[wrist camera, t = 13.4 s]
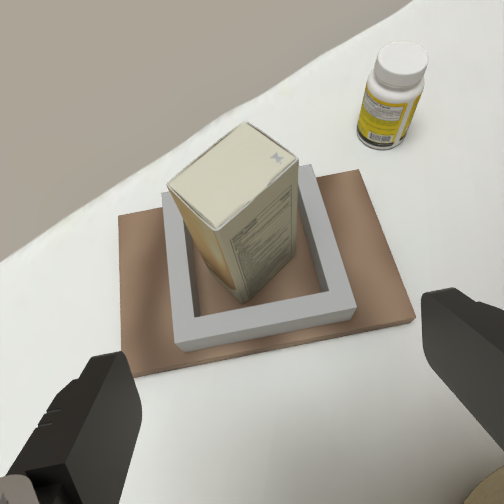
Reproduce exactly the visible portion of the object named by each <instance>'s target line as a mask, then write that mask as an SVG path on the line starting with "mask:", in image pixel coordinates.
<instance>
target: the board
mask: <svg viewBox="0 0 504 504" xmlns="http://www.w3.org/2000/svg"><path fill="white" fill-rule="evenodd" d="M316 180H317V183H318V187H319V190H320V193H321V196H322V199H323V202H324V205H325V208H326V212H327V215H328V218H329V221H330V224H331V227H332V230H333V234H334V237H335V240H336V243H337V246H338V249H339V252H340V255H341V259H342V262H343V265H344V268H345V271H346V274H347V277H348V280H349V284H350V287H351V290H352V293H353V296H354V299H355V302H356V306H357V308H356V310H355V312H354V314H353V316H352V318H351V319H350V320H348V321H342V322H337V323H332V324H327V325H322V326H317V327H312V328H307V329H302V330H297V331H292V332H287V333H282V334H277V335H272V336H267V337H262V338H257V339H252V340H247V341H242V342H237V343H232V344H226V345H221V346H216V347H211V348H206V349H201V350H196V351H191V352H186V353H185V352H184V351H182V350H181V349H180V348H179V347H178V346H177V345H176V344H175V342H174V331H173V319H172V308H171V296H170V285H169V274H168V262H167V251H166V239H165V228H164V216H163V207H161V208H156V209H151V210H146V211H140V212H135V213H130V214H125V215H120V216H118V227H119V270H120V313H121V351H122V352H123V353H124V354H125V356H126V358H127V360H128V364H129V367H130V370H131V373H132V376H133V378H135V377H140V376H145V375H150V374H155V373H160V372H165V371H170V370H175V369H180V368H186V367H191V366H196V365H201V364H206V363H211V362H216V361H221V360H226V359H231V358H236V357H241V356H246V355H251V354H256V353H261V352H266V351H271V350H276V349H281V348H286V347H291V346H296V345H301V344H306V343H311V342H316V341H321V340H326V339H331V338H336V337H341V336H347V335H352V334H357V333H362V332H367V331H372V330H377V329H382V328H387V327H392V326H397V325H402V324H407V323H411V322H412V321H413V320H414V319H415V318H416V315H415V313H414V310H413V308H412V305H411V303H410V300H409V297H408V295H407V292H406V290H405V287H404V285H403V282H402V279H401V277H400V274H399V272H398V269H397V266H396V264H395V261H394V259H393V256H392V254H391V251H390V248H389V246H388V243H387V241H386V238H385V236H384V233H383V230H382V228H381V225H380V223H379V220H378V218H377V215H376V212H375V210H374V207H373V205H372V202H371V200H370V197H369V194H368V192H367V189H366V187H365V184H364V182H363V179H362V176H361V174H360V171H359V169H358V170H353V171H347V172H342V173H337V174H332V175H327V176H322V177H316ZM191 240H192V248H193V256H194V264H195V272H196V280H197V288H198V297H199V305H200V313H201V316H206V315H211V314H216V313H221V312H226V311H231V310H236V309H241V308H246V307H251V306H256V305H261V304H267V303H272V302H277V301H282V300H287V299H292V298H297V297H302V296H307V295H312V294H317V293H322V292H321V288H320V285H319V281H318V278H317V274H316V271H315V267H314V263H313V260H312V256H311V253H310V249H309V246H308V242H307V238H306V235H305V231H304V228H303V224H302V221H301V217H300V213H299V210H298V206H297V230H296V254H295V255H294V256H293V257H292V258H291V259H290V260H289V261H288V262H287V263H286V265H285V266H284V267H283V268H282V269H281V270H280V271H279V272H278V273H277V274H276V275H275V276H274V277H273V278H272V279H270V280H269V281H268V282H267V283H266V284H265V285H264V286H263V287H262V288H261V289H260V290H259V291H258V292H257V293H256V294H255V295H254V296H253V297H251V298H250V299H249V300H248V301H247V302H246V303H244V304H242V303H240V302H239V301H238V300H237V299H236V298H235V297H234V296H233V295H232V294H231V293H230V292H229V291H228V290H227V289H226V288H225V287H224V286H223V285H222V284H221V283H220V282H219V281H218V280H217V279H216V278H215V277H214V276H213V275H212V274H211V273H210V272H209V270H208V268H207V266H206V264H205V262H204V260H203V258H202V256H201V254H200V252H199V250H198V248H197V246H196V244H195V242H194V240H193V238H192V236H191Z"/></svg>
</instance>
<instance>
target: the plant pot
mask: <svg viewBox="0 0 504 504" xmlns="http://www.w3.org/2000/svg"><path fill="white" fill-rule="evenodd" d="M463 504H504V466H502V467H501V468H499V469H498V470H496V471H495V472H493V473H492V474H491V475H490V476H488V477H487V478H486V479H484V480H483V481H482V482H481V483H480V484H479V485H478V486H477V487H476V488H475V489H474V490H473V491H472V492H471V493H470V495H469V496H468V497H467V499H466V500H465V502H464V503H463Z"/></svg>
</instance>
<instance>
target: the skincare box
mask: <svg viewBox="0 0 504 504" xmlns="http://www.w3.org/2000/svg"><path fill="white" fill-rule="evenodd" d="M298 166H299V158H298V157H297V156H296V155H294V154H293V153H291V152H290V151H289V150H288V149H286V148H285V147H283V146H282V145H281V144H279V143H278V142H277V141H275V140H274V139H272V138H271V137H270V136H268V135H267V134H265V133H264V132H263V131H261V130H260V129H258V128H257V127H255V126H253V125H252V124H250V123H249V122H247V121H243V122H242V123H241V124H239V125H238V126H236V127H235V128H234V129H232V130H231V131H230V132H228V133H227V134H226V135H224V136H223V137H222V138H220V139H219V140H218V141H217V142H216V143H214V144H213V145H212V146H211V147H209V148H208V149H207V150H206V151H204V152H203V153H202V154H201V155H200V156H198V157H197V158H196V159H195V160H193V161H192V162H191V163H190V164H189V165H188V166H186V167H185V168H184V169H183V170H182V171H181V172H179V173H178V174H177V175H176V176H175V177H174V178H172V179H171V180H170V181H169V182H168V183H167V184H166V185H167V188H168V190H169V192H170V193H171V195H172V197H173V199H174V201H175V203H176V205H177V207H178V210H179V212H180V214H181V216H182V218H183V220H184V222H185V224H186V226H187V228H188V230H189V232H190V234H191V236H192V238H193V240H194V242H195V244H196V246H197V248H198V250H199V252H200V254H201V256H202V258H203V260H204V262H205V264H206V266H207V268H208V270H209V272H210V273H211V274H212V275H213V276H214V277H215V278H216V279H217V280H218V281H219V282H220V283H221V284H222V285H223V286H224V287H225V288H226V289H227V290H228V291H229V292H230V293H231V294H232V295H233V296H234V297H235V298H236V299H237V300H238V301H239V302H240V303H242V304H244V303H246V302H247V301H248V300H249V299H250V298H251V297H253V296H254V295H255V294H256V293H257V292H258V291H259V290H260V289H261V288H262V287H263V286H264V285H265V284H266V283H267V282H268V281H269V280H270V279H272V278H273V277H274V276H275V275H276V274H277V273H278V272H279V271H280V270H281V269H282V268H283V267H284V266H285V265H286V263H287V262H288V261H289V260H290V259H291V258H292V257H293V256H294V255H295V254H296V230H297V198H298Z"/></svg>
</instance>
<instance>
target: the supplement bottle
mask: <svg viewBox="0 0 504 504" xmlns="http://www.w3.org/2000/svg"><path fill="white" fill-rule="evenodd" d="M428 60H429V58H428V54H427V52H426V51H425V50H424V49H423V48H422V47H421V46H419V45H417V44H415V43H412V42H406V41H397V42H392V43H389V44H387V45H385V46H384V47H383V48H382V49H381V50H380V51H379V53H378V56H377V59H376V62H375V66H374V69H373V70H372V71H371V73H370V74H369V77H368V80H367V83H366V88H365V93H364V97H363V102H362V106H361V111H360V115H359V120H358V124H357V134H358V137H359V138H360V140H361V141H362V142H363V143H364V144H366V145H367V146H369V147H372V148H375V149H389V148H393V147H395V146H397V145H398V144H399V143H401V142H402V141H403V139H404V138H405V135H406V133H407V130H408V128H409V125H410V122H411V120H412V117H413V114H414V112H415V109H416V107H417V104H418V102H419V99H420V97H421V94H422V92H423V89H424V73H425V70H426V68H427V65H428Z"/></svg>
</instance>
